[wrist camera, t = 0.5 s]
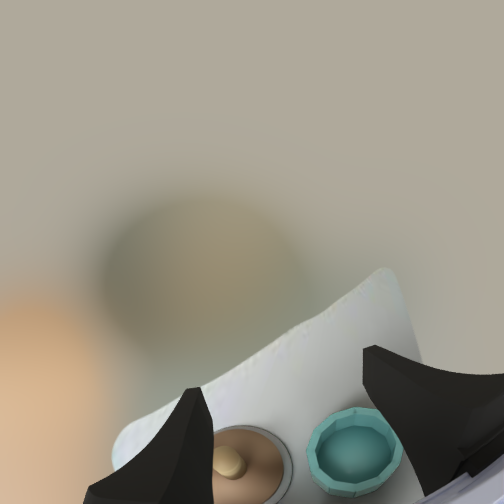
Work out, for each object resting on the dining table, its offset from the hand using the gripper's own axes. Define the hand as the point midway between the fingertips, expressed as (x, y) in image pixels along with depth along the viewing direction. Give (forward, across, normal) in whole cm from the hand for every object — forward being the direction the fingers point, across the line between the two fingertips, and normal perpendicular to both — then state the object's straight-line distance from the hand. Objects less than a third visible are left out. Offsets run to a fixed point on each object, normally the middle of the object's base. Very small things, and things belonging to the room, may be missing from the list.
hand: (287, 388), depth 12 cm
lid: (+9, +6, +18) cm, 21 cm away
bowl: (+7, -6, +18) cm, 21 cm away
